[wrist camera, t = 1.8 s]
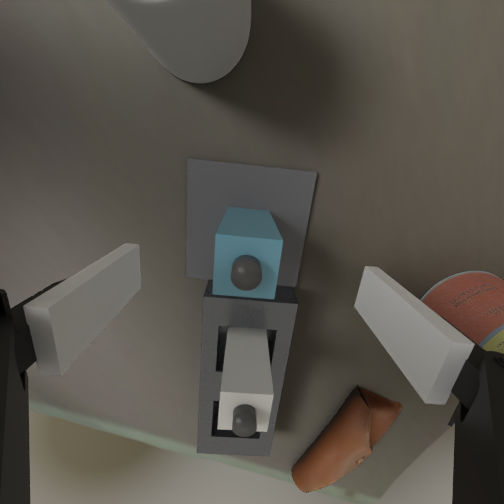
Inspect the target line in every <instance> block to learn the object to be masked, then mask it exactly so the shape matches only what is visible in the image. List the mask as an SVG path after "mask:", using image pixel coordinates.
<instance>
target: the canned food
mask: <svg viewBox="0 0 504 504" xmlns="http://www.w3.org/2000/svg"><path fill="white" fill-rule="evenodd" d="M420 301H421V302H423V303H424V304H425V305H426V306H428V307H429V308H430V309H431V310H433V311H434V312H435V313H437V314H438V315H440V316H442V317H444V318H445V319H446V320H447V321H449V322H450V323H451V324H452V326H455V327H456V328H458V329H459V330H460V332H463V333H464V334H465V335H466V336H468V337H469V338H470V339H472V340H473V341H474V342H475V343H477V344H478V345H479V346H480V347H482V348H483V349H484V350H486V351H496V352H500V353H503V354H504V280H503V279H501V278H500V277H498V276H496V275H494V274H491V273H488V272H484V271H466V272H461V273H457V274H454V275H451V276H449V277H447V278H445V279H443V280H441V281H440V282H438V283H437V284H435V285H434V286H433V287H431V288H430V289H429V290H428V291H427V292H426V293H425V294H424V295H423V297H422V298H421V299H420Z"/></svg>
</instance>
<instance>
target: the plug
mask: <svg viewBox="0 0 504 504" xmlns="http://www.w3.org/2000/svg"><path fill="white" fill-rule="evenodd" d="M282 245H283V239H282V237H281V235H280V233H279V230H278V228H277V226H276V224H275V222H274V220H273V218H272V216H271V213H270V211H268V210H258V209H248V208H238V207H228V208H227V210H226V213H225V215H224V217H223V219H222V221H221V224H220V226H219V228H218V230H217V232H216V237H215V255H214V274H213V292H212V294H215V295H227V296H239V297H251V298H264V299H274V298H275V291H276V285H277V278H278V272H279V265H280V258H281V252H282Z"/></svg>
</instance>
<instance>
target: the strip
mask: <svg viewBox="0 0 504 504" xmlns="http://www.w3.org/2000/svg"><path fill="white" fill-rule="evenodd" d="M212 292H213V280H209V281H208V284H207V287H206V290H205V293H204V296H203V318H202V342H201V366H200V390H199V415H198V439H197V453H206V454H226V455H247V456H268V457H269V455H270V450H271V445H272V439H273V434H274V429H275V424H276V418H277V413H278V408H279V403H280V397H281V392H282V387H283V381H284V376H285V371H286V366H287V360H288V355H289V350H290V345H291V339H292V334H293V329H294V324H295V318H296V313H297V308H298V302H297V300H296V297H295V294H294V291H293V289H292V287H291V286H279V285H276V291H275V298H274V299H264V298H251V297H239V296H227V295H215V294H212ZM228 326H230V327H244V328H257V329H266V332H267V341H268V350H269V358H270V367H271V376H272V385H273V393H274V396H273V402H272V407H271V413H270V419H269V424H268V430H267V432H258V431H256V432H255V433H254V434H253V435H251V436H248V437H241V436H238V435H236V434H235V433H234V432H233V430H221V429H217V427H218V414H219V402H220V390H221V382H222V373H223V365H224V356H225V348H226V340H227V331H228Z"/></svg>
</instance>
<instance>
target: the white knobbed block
mask: <svg viewBox="0 0 504 504" xmlns="http://www.w3.org/2000/svg"><path fill="white" fill-rule="evenodd" d="M273 396H274V393H273V385H272V376H271V367H270V358H269V350H268V341H267V332H266V329H257V328H244V327H230V326H228V331H227V340H226V348H225V356H224V365H223V373H222V382H221V390H220V402H219V414H218V427H217V429H221V430H233V432H234V433H235V434H236V435H238V436H241V437H248V436H251V435H253V434H254V433H255V432H256V431H258V432H267V430H268V424H269V419H270V413H271V407H272V402H273Z"/></svg>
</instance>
